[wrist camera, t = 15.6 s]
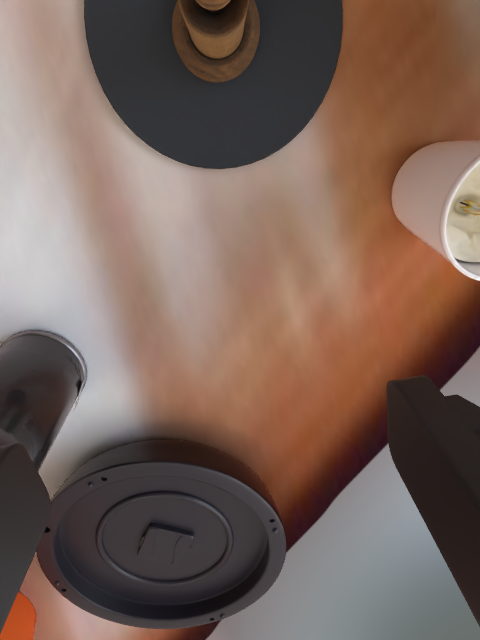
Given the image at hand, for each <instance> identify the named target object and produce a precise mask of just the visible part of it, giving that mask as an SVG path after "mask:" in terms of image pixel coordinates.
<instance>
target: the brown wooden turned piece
mask: <svg viewBox="0 0 480 640" xmlns="http://www.w3.org/2000/svg"><path fill="white" fill-rule="evenodd" d="M172 33H173V39H174V44H175V47H176V50H177V52H178V54H179V56H180V58H181V60H182V61H183V63H184V64H185V66H186V67H187V68H188V69H189V70H190V71H191V72H192V73H193V74H194V75H195V76H197V77H198V78H200V79H202V80H205V81H208V82H214V83H220V82H226V81H229V80H231V79H233V78H235V77H237V76H238V75H240V74H241V73H242V72H243V71H244V70H245V69H246V68H247V67H248V65H249V64H250V62H251V61H252V59H253V57H254V54H255V52H256V49H257V45H258V41H259V35H260V21H259V14H258V10H257V7H256V4H255V2H254V0H178V1H177V3H176V5H175V9H174V13H173V19H172Z"/></svg>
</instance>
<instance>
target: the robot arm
mask: <svg viewBox="0 0 480 640" xmlns="http://www.w3.org/2000/svg"><path fill="white" fill-rule="evenodd" d="M86 379H87V368H86V364H85V361H84V359H83V357H82V355H81V354H80V353H79V351H78V350H77V349H76V348H75V347H74V346H73V345H72V344H71V343H70V342H68V341H67V340H65V339H64V338H62V337H60V336H58V335H56V334H53V333H50V332H45V331H38V330H30V331H24V332H20V333H17V334H15V335H13V336H11V337H10V338H8V339H7V340H6V341H5V342H4V343H3V344H2V345H1V346H0V634H1V632H2V629H3V627H4V624H5V622H6V620H7V617H8V615H9V613H10V610H11V608H12V606H13V603H14V601H15V599H16V596H17V594H18V592H19V589H20V587H21V585H22V582H23V580H24V578H25V575H26V573H27V571H28V568H29V566H30V564H31V561H32V559H33V557H34V554H35V552H36V549H37V547H38V545H39V542H40V540H41V538H42V535H43V533H44V531H45V528H46V526H47V524H48V521H49V517H50V498H49V494H48V492H47V489H46V487H45V485H44V483H43V481H42V479H41V477H40V475H39V473H38V471H39V469H40V467H41V465H42V463H43V461H44V459H45V458H46V456H47V454H48V452H49V450H50V448H51V446H52V444H53V442H54V441H55V439H56V437H57V435H58V433H59V431H60V429H61V427H62V425H63V423H64V422H65V420H66V418H67V416H68V414H69V412H70V410H71V408H72V406H73V404H74V403H75V401H76V399H77V397H78V399H77V402H76V405H77V403H78V400H79V397H80V394H81V391H82V390H83V388H84V386H85V383H86ZM76 405H75V407H76ZM74 409H75V408H74ZM387 427H388V443H389V448H390V452H391V455H392V459H393V461H394V464H395V466H396V468H397V470H398V472H399V474H400V476H401V478H402V480H403V482H404V483H405V485H406V487H407V489H408V491H409V493H410V495H411V497H412V499H413V501H414V502H415V504H416V506H417V508H418V510H419V512H420V514H421V516H422V518H423V519H424V521H425V523H426V525H427V527H428V529H429V531H430V533H431V535H432V537H433V539H434V540H435V542H436V544H437V546H438V548H439V550H440V552H441V554H442V556H443V558H444V560H445V562H446V563H447V565H448V567H449V569H450V571H451V573H452V575H453V577H454V579H455V581H456V582H457V584H458V586H459V588H460V590H461V592H462V594H463V596H464V597H465V600H466V601H467V603H468V605H469V607H470V609H471V611H472V613H473V615H474V617H475V619H476V620H477V622H478V624H479V626H480V407H479V406H477V405H475V404H473V403H471V402H470V401H468V400H466V399H464V398H462V397H461V396H459V395H451V396H444V395H443V394H442V393H441V392H440V390H439V389H438V388H437V387H436V386H435V385H434V383H433V382H432V381H431V380H430V379H429V378H428V377H427V376H425V375H421V376H415V377H410V378H404V379H398V380H392V381H389V382H388V383H387Z"/></svg>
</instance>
